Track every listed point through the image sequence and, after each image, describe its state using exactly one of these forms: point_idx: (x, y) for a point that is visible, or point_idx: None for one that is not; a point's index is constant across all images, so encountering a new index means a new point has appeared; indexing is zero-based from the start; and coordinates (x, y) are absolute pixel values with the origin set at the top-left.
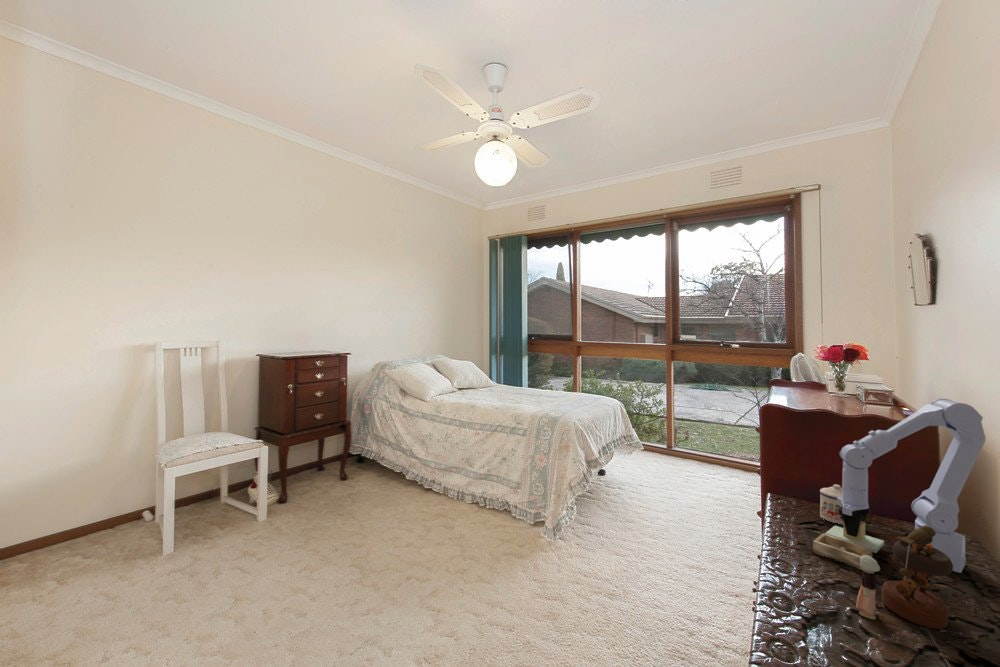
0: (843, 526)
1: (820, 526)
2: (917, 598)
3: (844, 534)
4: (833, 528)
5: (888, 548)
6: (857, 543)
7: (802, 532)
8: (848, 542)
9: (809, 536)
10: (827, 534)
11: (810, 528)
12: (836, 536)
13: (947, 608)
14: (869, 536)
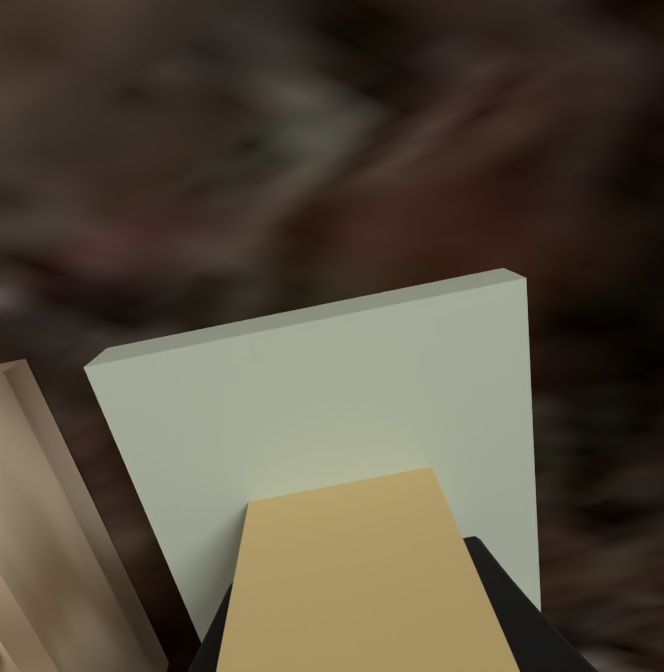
0: (226, 626)
1: (553, 35)
2: None
3: (249, 529)
4: (378, 331)
5: (558, 605)
6: (201, 639)
7: (63, 33)
8: (24, 669)
9: (49, 166)
10: (100, 386)
11: (333, 3)
12: (135, 482)
13: None
14: (532, 602)
